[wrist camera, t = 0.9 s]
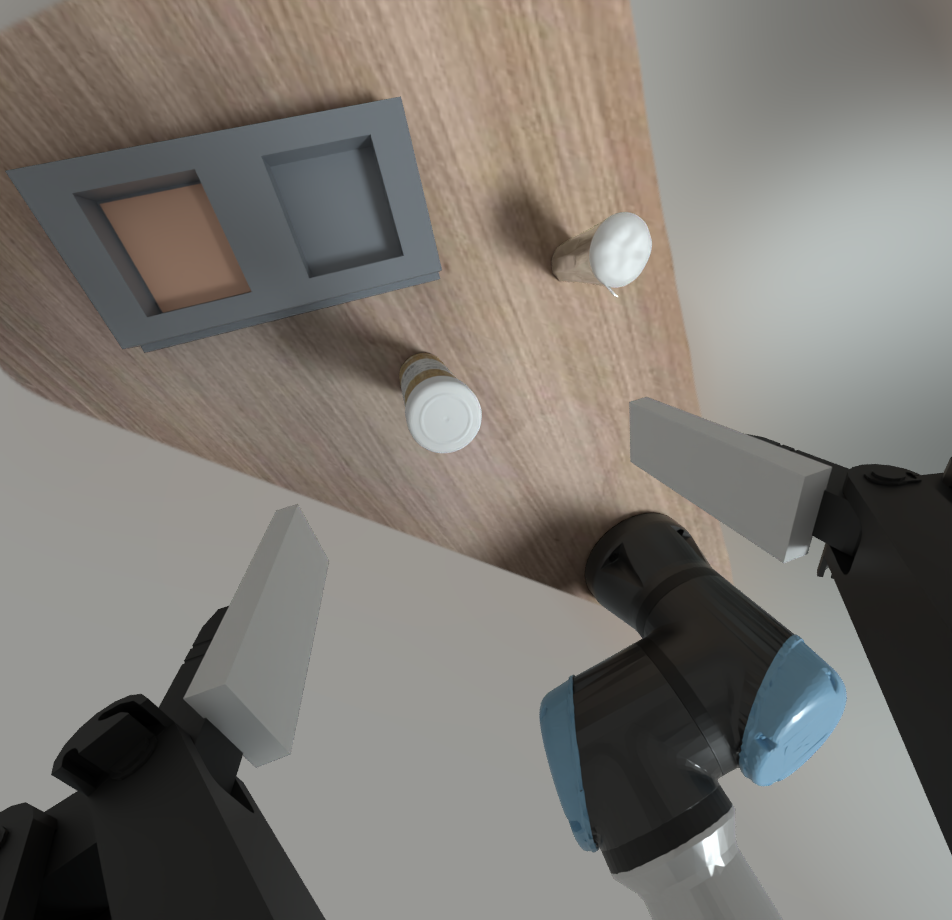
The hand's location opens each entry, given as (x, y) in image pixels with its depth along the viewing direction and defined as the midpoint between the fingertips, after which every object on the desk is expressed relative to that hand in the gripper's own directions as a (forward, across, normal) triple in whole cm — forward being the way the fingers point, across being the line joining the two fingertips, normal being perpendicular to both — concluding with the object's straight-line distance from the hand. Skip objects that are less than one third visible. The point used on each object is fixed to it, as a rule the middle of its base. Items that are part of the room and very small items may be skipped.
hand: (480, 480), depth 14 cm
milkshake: (+22, -15, -6) cm, 27 cm away
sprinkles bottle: (+22, 0, 0) cm, 22 cm away
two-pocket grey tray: (+22, +8, -13) cm, 26 cm away
